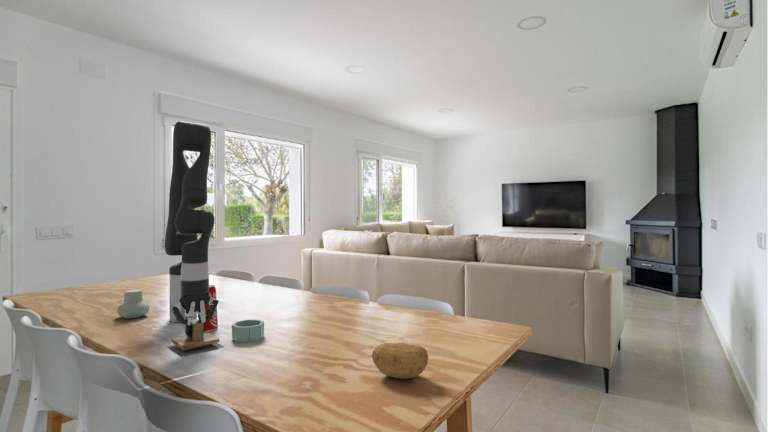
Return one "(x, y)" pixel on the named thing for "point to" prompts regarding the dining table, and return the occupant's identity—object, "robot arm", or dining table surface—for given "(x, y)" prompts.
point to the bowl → (247, 330)
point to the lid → (195, 337)
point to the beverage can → (213, 322)
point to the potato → (400, 359)
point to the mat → (194, 349)
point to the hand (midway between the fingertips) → (195, 335)
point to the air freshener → (133, 305)
